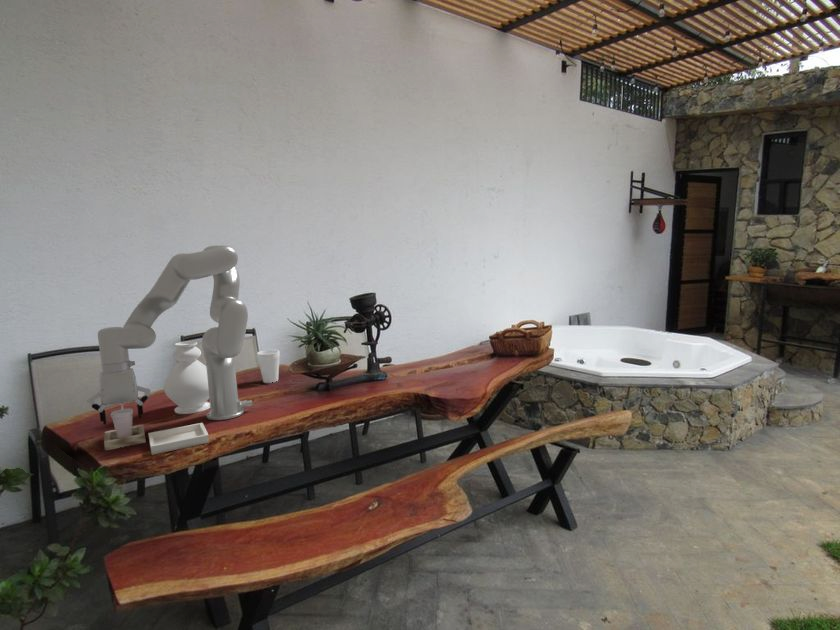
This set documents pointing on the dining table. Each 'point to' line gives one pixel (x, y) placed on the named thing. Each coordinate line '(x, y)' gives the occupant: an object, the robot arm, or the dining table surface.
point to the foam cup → (269, 365)
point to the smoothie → (122, 421)
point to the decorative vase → (188, 380)
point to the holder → (124, 438)
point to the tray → (178, 438)
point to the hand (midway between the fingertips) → (122, 419)
